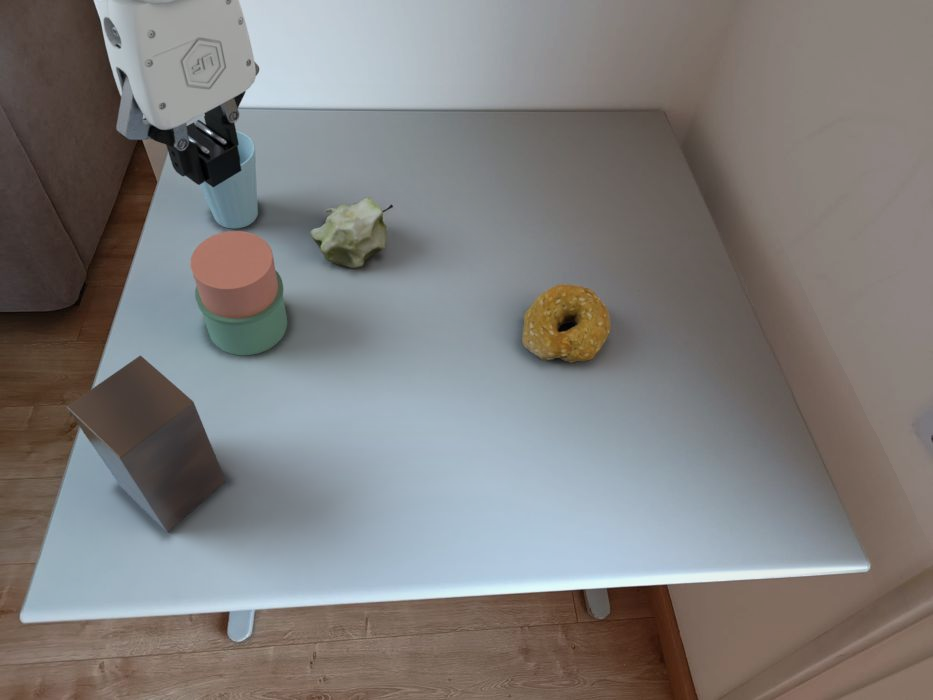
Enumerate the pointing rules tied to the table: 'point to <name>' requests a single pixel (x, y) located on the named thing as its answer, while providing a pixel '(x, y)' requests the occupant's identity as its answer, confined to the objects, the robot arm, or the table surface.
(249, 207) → the cup
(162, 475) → the clip stand
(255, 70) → the robot arm
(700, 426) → the table surface
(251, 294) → the cup stack
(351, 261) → the fruit
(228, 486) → the table surface
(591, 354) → the bagel
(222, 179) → the clip
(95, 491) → the table surface
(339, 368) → the table surface
